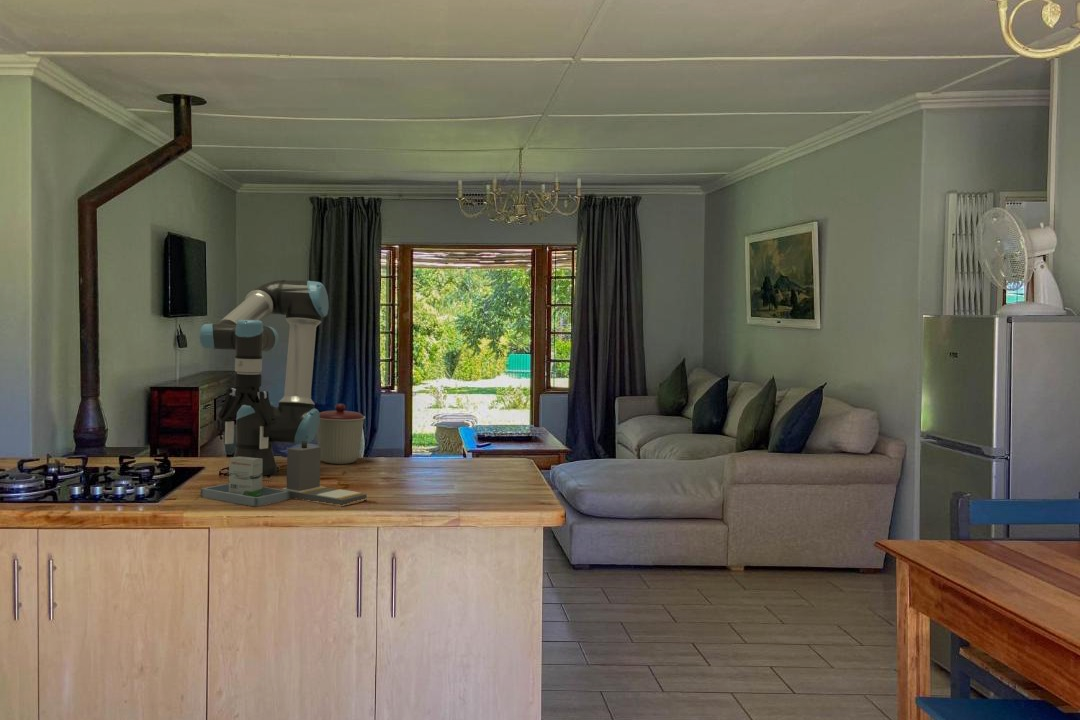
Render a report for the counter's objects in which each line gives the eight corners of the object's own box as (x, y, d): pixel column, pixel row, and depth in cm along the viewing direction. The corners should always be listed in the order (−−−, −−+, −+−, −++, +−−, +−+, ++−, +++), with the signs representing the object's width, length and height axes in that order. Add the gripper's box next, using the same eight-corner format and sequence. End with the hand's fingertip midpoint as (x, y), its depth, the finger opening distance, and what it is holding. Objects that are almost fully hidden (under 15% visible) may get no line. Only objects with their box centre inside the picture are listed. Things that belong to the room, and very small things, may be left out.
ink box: (263, 498, 301) (263, 457, 300) (253, 501, 296) (254, 460, 295) (237, 495, 304) (238, 455, 303) (227, 497, 299) (228, 457, 298)
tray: (200, 497, 299) (200, 488, 299) (235, 490, 311) (235, 482, 311) (255, 507, 289) (256, 498, 289) (289, 499, 301) (289, 491, 300)
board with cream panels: (278, 496, 305) (278, 488, 305) (303, 490, 315) (304, 483, 314) (342, 507, 293) (342, 499, 293) (366, 501, 303) (366, 493, 303)
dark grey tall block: (286, 488, 305) (287, 442, 304) (306, 484, 313) (308, 438, 312) (299, 490, 302) (300, 443, 301) (319, 486, 310) (320, 440, 309)
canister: (339, 468, 356) (340, 407, 355) (302, 461, 366) (303, 402, 365) (374, 462, 371) (376, 404, 370) (338, 456, 381) (339, 399, 380)
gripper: (207, 370, 300) (205, 442, 301) (271, 376, 288) (269, 451, 289) (226, 369, 307) (224, 440, 308) (289, 375, 295) (287, 449, 296)
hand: (246, 446), depth 299 cm, fingers open, 13 cm apart
